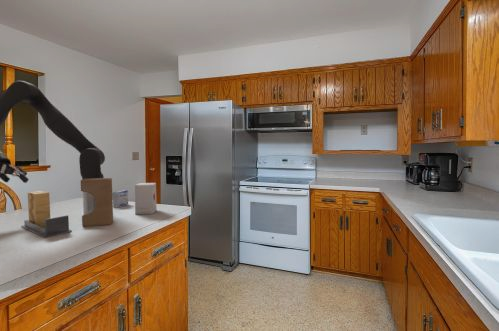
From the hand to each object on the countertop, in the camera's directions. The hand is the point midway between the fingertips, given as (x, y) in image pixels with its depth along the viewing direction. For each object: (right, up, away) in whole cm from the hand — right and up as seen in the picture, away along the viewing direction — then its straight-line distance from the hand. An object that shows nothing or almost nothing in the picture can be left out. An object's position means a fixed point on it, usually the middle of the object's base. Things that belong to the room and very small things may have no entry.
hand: (17, 181), depth 121 cm
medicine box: (+29, -17, +37) cm, 49 cm away
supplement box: (+50, -18, +20) cm, 56 cm away
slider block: (+15, -18, -6) cm, 24 cm away
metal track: (+20, -19, -9) cm, 29 cm away
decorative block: (+37, -19, -2) cm, 42 cm away
